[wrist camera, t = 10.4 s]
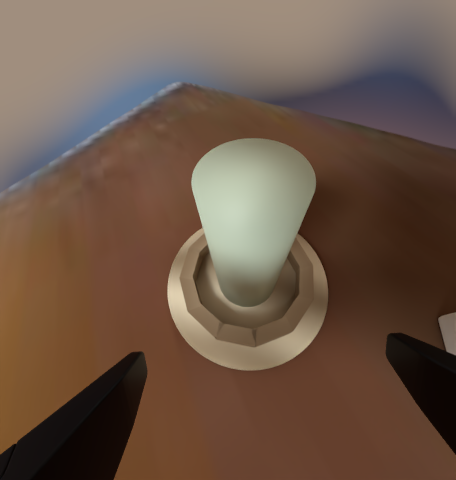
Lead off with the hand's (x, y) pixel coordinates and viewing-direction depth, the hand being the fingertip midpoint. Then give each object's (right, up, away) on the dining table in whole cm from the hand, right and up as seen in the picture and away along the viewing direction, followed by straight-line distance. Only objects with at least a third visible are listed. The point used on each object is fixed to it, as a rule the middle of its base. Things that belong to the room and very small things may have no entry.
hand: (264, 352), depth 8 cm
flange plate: (0, 0, +11) cm, 11 cm away
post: (0, +1, +10) cm, 10 cm away
